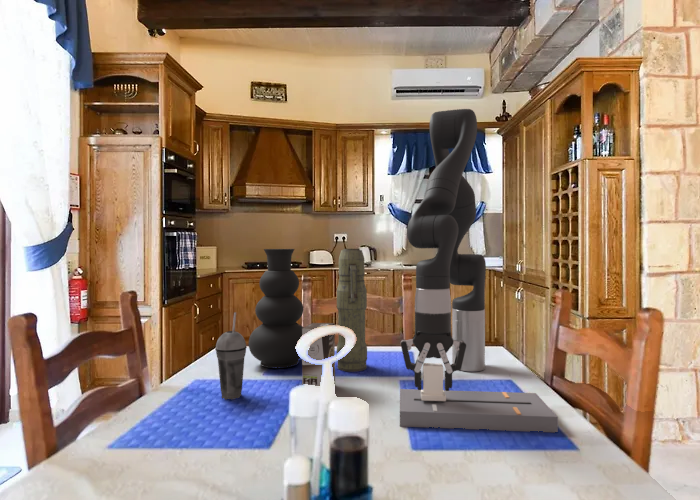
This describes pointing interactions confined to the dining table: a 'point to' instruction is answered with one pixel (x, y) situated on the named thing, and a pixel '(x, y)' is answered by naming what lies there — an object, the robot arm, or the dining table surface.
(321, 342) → the dark grey printed box
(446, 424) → the fader console
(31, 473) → the dining table surface
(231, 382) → the beverage cup
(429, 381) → the fader tab
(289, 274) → the vase
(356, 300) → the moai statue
